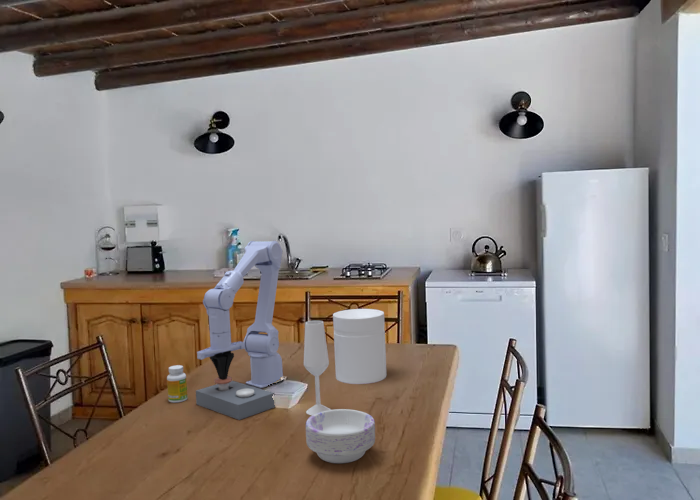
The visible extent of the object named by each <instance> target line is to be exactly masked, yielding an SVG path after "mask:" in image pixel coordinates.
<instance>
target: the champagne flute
mask: <svg viewBox="0 0 700 500" xmlns="http://www.w3.org/2000/svg"><path fill="white" fill-rule="evenodd" d="M304 323H305V324H304V345H303V347H304V349H303V350H304V351H303V367H304V368H305V370H306V371H307V372H309V373H310V374H311V375H312V376H314V387H315V389H314V390H315V404H314V405H313V406H311V407H309V408H308V409H307V410H306V411H305V413H306V414H307V415H309V416H312V415H314V414H316V413H319V412H323V411H327V410H332V409H331V408H329V407H327V406H325V405H323V404H322V403H321V386H320V376H321V375H323V373H324V372H326V370H327V368H328V367H329V364H330V361H329V353H328V347H327V338H326V332H325V326H324V325H325V324H324V321H323V320H309V321H306V322H304Z"/></svg>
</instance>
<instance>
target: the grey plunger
mask: <svg viewBox="0 0 700 500" xmlns="http://www.w3.org/2000/svg"><path fill="white" fill-rule="evenodd" d="M252 395H254V390H253V389H240V390H238V391H236V396H238V397H240V398H247V397H250V396H252Z"/></svg>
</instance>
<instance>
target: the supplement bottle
mask: <svg viewBox="0 0 700 500" xmlns="http://www.w3.org/2000/svg"><path fill="white" fill-rule="evenodd" d="M168 373H169V374H168V375H167V376H166V384H167V385H166V387H167V396H168V397H167V398H168V402H170V403H176V404H177V403H181V402H184V401H186V400H188V384H187V383H188V381H187V374H186V373H185V372H184V366H183V365H180V364H177V365H171V366H169V367H168Z"/></svg>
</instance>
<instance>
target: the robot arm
mask: <svg viewBox="0 0 700 500" xmlns="http://www.w3.org/2000/svg"><path fill="white" fill-rule="evenodd" d="M282 258H283V248H282V247H281V245H280V243H279V242H278V241H277V240H271V241H270V240H269V241H264V240H263V241H262V240H261V241H256V240H250V241H249V242H248V243H247V244H246V246H245V247H244V254H243V255H242V256H241V258H240V259H239V262H238V263H237V265H236V266H235V267H234V269H233V270H227V271H225V272H224V275H223V276H222V278H221V279H220V280H219V282H218V283H217V284H216V285H215V287H214V288H210V289H208V290H207V291H206V292H205V294H204V297H203V299H202V304H203V305H204V306H203V307H204V308H205V309H206V315H207V316H208V325H209V326H208V327H209V340H210V341H209V343H210V346H209V347H206V348H204V349H202V350H199V351H196V354H197V355H196V356H197V358H196V359H198V360H200V361H201V360H204V359H206V358H209V359H210V361H211V362H212V364H213V366H214V367H215V370H216V374H217V375H218V376H217V377H219V379H222V380H225V379H227V376H228V375H229V371H230V367H231V364H232V362H233V359H234V357H235V353H233V352H234V351H237V350H243V349H244V350H245V352H246V353H247V355H248V356H249V357H250V358H249V360H250V362H249V363H250V376H251V379H250V380H247V381H246V382H245V384H246V385H249V386H253V387H256V388H259V389H264V388H266V387H269V386H271V385H270V384H272V383H274V382H276V381H277V380H279V379H280V377H282V376H283V377H284V374H283V371H284V370H283V360H282V356H281V355H280V354H279V352H278V349H279V347H280V342H279V341H280V339H279V333H280V332H279V330H278V329H277V328H276V327H275V326H274V325H273V319H274V317H273V316H274V310H275V301H276V294H277V285H278V279H279V273H280V269H281V266H282V265H281V264H282ZM253 267H255V268H256V269H258V270H259V272H260V279H259V281H260V282H259V288H258V289H259V290H258V295H257V302H256V303H257V304H256V309H255V317H254V322H253V323H252V324H251V325H249V327H247V329H246V334H245V337H244V339H243V341H236V342H232V332H231V318H230V317H231V316H230V308H232V307H233V304H234V299H235V297H236V294H237V292H238V291H239V290H240V289H241V287H242V286H243V285H244V283H245V282H244V277H245V276H246V275H247V274H248V273H249V272H250V271H251V270H252V268H253ZM268 385H269V386H268ZM272 385H273V384H272Z"/></svg>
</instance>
